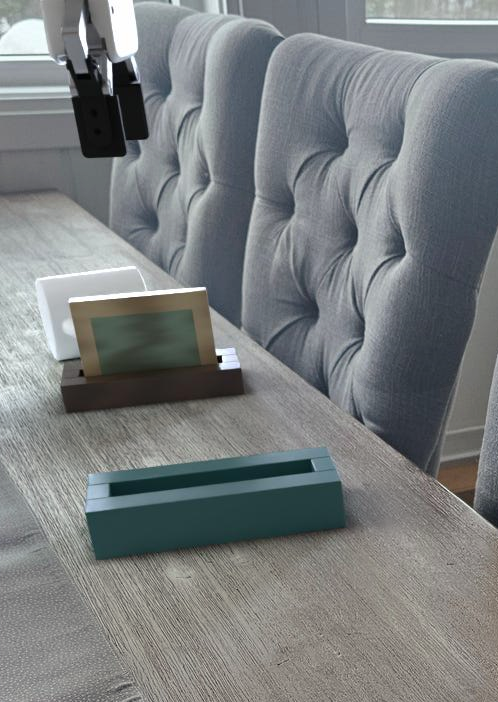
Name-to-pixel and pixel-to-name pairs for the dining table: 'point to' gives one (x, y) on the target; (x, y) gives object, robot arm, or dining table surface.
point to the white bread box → (90, 284)
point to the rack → (151, 384)
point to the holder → (213, 502)
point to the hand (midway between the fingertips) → (118, 147)
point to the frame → (143, 331)
